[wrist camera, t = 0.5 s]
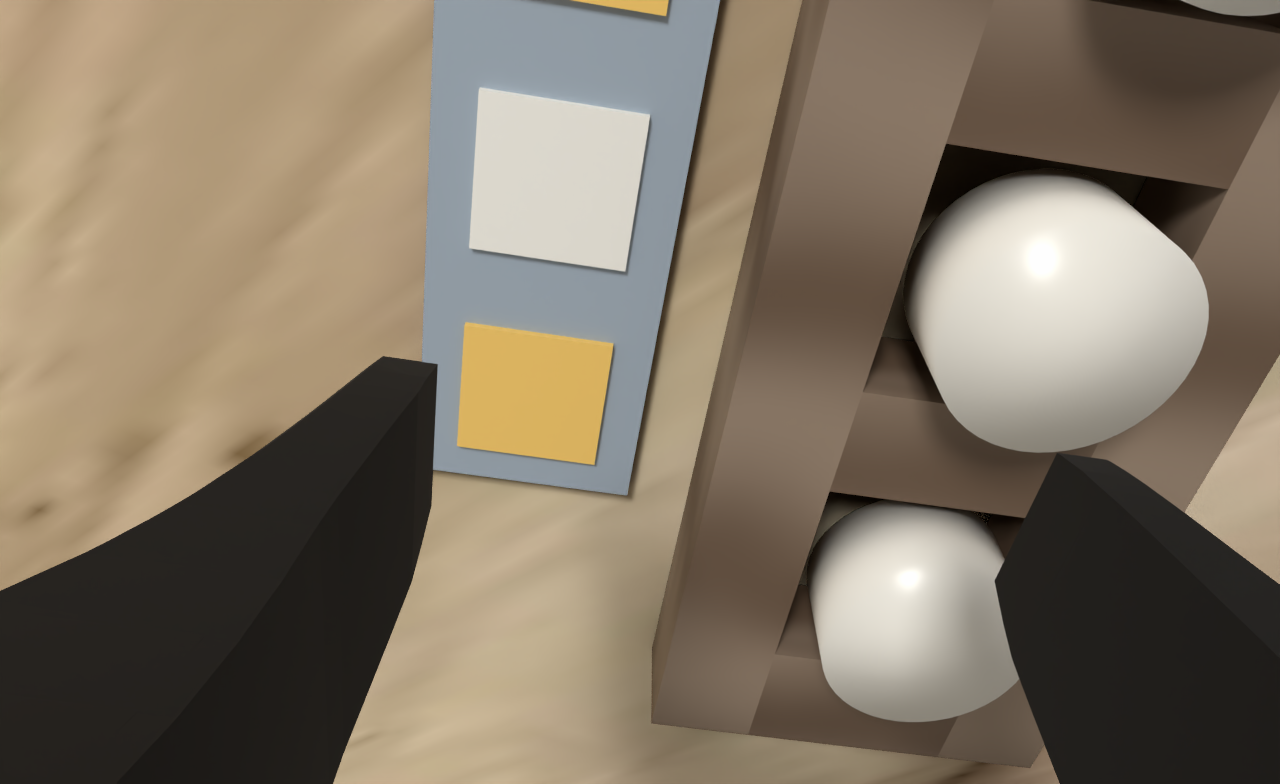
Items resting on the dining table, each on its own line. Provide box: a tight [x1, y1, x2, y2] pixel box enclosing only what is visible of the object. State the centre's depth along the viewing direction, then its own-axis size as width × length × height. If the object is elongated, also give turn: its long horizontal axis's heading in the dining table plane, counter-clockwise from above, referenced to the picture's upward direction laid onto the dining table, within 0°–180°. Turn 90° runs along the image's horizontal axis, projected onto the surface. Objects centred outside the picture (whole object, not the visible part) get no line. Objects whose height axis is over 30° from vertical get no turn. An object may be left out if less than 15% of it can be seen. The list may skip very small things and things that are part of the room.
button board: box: [651, 0, 1280, 768], centre depth 18 cm, size 26×10×2 cm, turn 171°
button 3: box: [806, 499, 1019, 722], centre depth 21 cm, size 4×4×2 cm
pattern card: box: [422, 0, 720, 495], centre depth 18 cm, size 15×5×1 cm, turn 171°
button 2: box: [903, 168, 1209, 453], centre depth 17 cm, size 4×4×2 cm
